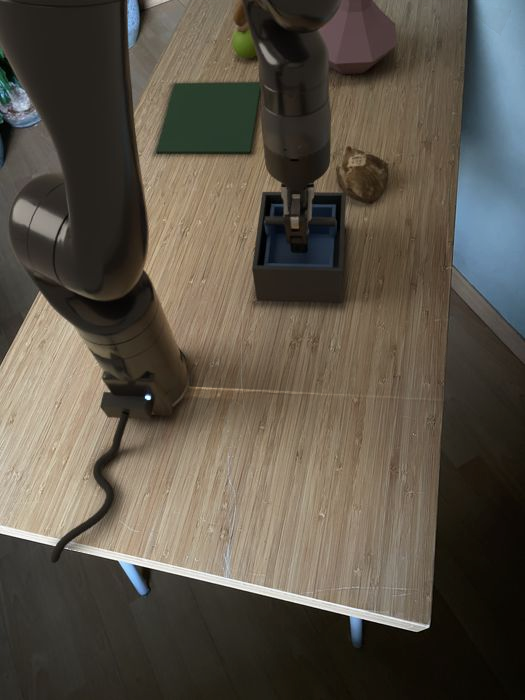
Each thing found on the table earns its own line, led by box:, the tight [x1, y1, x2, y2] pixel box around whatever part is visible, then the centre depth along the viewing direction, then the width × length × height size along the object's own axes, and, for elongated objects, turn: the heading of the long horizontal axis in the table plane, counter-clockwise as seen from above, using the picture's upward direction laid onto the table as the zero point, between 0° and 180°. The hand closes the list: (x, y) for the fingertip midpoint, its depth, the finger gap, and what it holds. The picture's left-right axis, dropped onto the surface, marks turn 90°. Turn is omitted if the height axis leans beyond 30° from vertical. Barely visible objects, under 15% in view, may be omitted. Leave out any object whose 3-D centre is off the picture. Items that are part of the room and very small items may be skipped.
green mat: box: [155, 81, 261, 155], centre depth 103 cm, size 18×16×1 cm
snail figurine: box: [231, 0, 257, 59], centre depth 106 cm, size 5×6×12 cm
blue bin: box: [264, 204, 337, 267], centre depth 80 cm, size 11×10×9 cm
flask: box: [318, 0, 398, 75], centre depth 99 cm, size 16×16×20 cm
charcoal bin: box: [251, 191, 347, 304], centre depth 82 cm, size 14×12×8 cm
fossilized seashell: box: [335, 145, 390, 203], centre depth 90 cm, size 8×7×10 cm
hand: (300, 234), depth 79 cm, fingers open, 5 cm apart
